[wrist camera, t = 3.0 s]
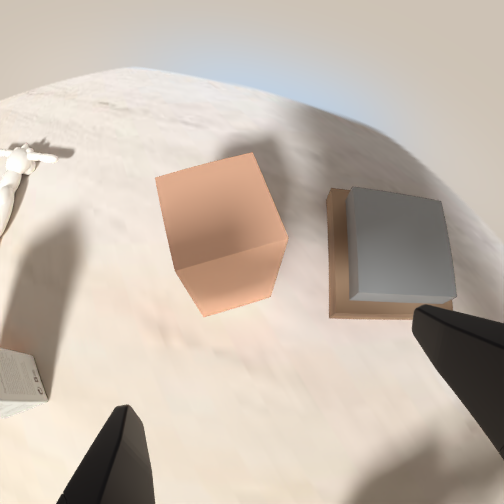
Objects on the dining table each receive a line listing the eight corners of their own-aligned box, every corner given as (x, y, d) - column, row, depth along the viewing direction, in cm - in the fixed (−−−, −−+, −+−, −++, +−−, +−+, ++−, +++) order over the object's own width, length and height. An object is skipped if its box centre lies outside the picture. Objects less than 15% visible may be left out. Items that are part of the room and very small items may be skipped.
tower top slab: (442, 303, 21) (456, 296, 19) (349, 300, 21) (358, 292, 19) (430, 212, 24) (441, 201, 22) (345, 200, 24) (352, 186, 22)
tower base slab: (437, 320, 23) (453, 313, 21) (326, 319, 23) (335, 313, 21) (423, 215, 27) (435, 202, 24) (324, 204, 27) (331, 188, 24)
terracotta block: (270, 297, 23) (288, 238, 14) (203, 317, 22) (174, 271, 13) (249, 237, 25) (252, 152, 15) (186, 255, 24) (155, 177, 15)
